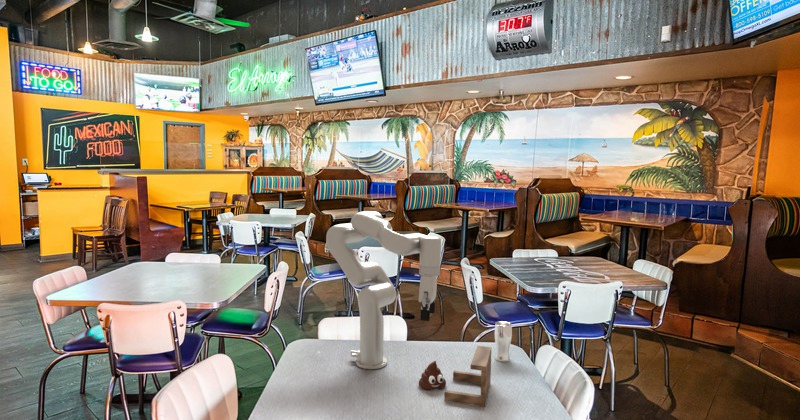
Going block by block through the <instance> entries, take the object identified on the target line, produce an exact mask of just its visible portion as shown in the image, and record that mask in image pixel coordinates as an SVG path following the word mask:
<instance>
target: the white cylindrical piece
mask: <svg viewBox="0 0 800 420" xmlns="http://www.w3.org/2000/svg"><path fill="white" fill-rule="evenodd" d="M512 336H513V327H512V323H511V322H508V321H503V320H501V321H495V325H494V343H495V356H494V359H495V360H496V361H498V362H503V363H507V362H509V361H511V359H510V358H511V357H510V348H511V343H512Z"/></svg>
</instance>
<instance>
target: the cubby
mask: <svg viewBox="0 0 800 420" xmlns="http://www.w3.org/2000/svg"><path fill="white" fill-rule="evenodd" d="M470 370H475V371H480V373H475V372H467V371H460V370H453V372H452V375H453V376H452V380H453V381H458V382H466V383H470V384H479V385H480V394H474V393H467V392H462V391H454V390H449V389H448V390H447V389H445V390H444V394H443V395H444V396H443V398H444V401H446V402H450V403H456V404H462V405H463V404H464V405H470V406H477V407H482V408H486V406H487V405H486V404H487V399H488V397H489V396H488V395H489V393H490V392H489V391H490V387H491V379H492V378H491V375H492V347H490V346H482V345H477V346H476V349H475V351H474V354H473V356H472V360H471V363H470Z"/></svg>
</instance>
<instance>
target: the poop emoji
mask: <svg viewBox="0 0 800 420" xmlns="http://www.w3.org/2000/svg"><path fill="white" fill-rule="evenodd" d="M423 371H424V372H422V373H421V378H419V381H418V386H419V388H420V389H421V390H424V391H430V392H431V391H435V390H442V389H444V388H445V387H446V385H447V380H446V379H445V378H444V375H443V373H442V371H441V368H440V367H438V365H437V360H433V361H432V362H431V363H429V364H428V365H427V366H426V368H425V369H424V370H423Z"/></svg>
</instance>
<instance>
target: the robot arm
mask: <svg viewBox="0 0 800 420" xmlns="http://www.w3.org/2000/svg"><path fill="white" fill-rule="evenodd" d="M367 238H371V239H373V240H375V241H378V243H379V244H380V245H381V246H382V248H383V249H385V250H387V251H388V252H390V253H393V254H396V255H398V256H404V257H405V256H406V257H407V256H412V255H415V254H419V265H418V267H419V268H418V274H419V275H420V279H419V280H420V281H419V290H418V291H419V292H418V302H419V303H421V306H420V319H419V320H420V321H425V322H430V317H431V316H430V315H431V314H435V311H436V298H437V288H438V287H437V286H438V285H437V284H438V277H439V276H440V275H441V258H442V257H441V252H442V240H441V238H440V237H439V236H436V235H435V236H434V235H426V234H423V233H419V232H415V233H406V234H400V233H397V232H396V231H393V230H392V225H391V223H390V221H388V220H385V219H384V217H383V216H382V214H381V213H380V212H378V211H375V210H374V211H373V210H371V211H370V210H367V211H359V212H356V213H355V214H354V215H352V217H351V220H350V222H348V223H339V224H335V225H333V226H331V227H330V228H329V229H328V230H327V232H326V238H325V241H326V246H327V249H328V251H329V253H330V254H331V256H332V257H333V258H334V259H335V261H336V262H337V263H338V266H340V269H341V270H342V272H343V273H344V274H345V278H347V280H348V281H349V282H350V284H351V285H352V286H353V287H356V288H361V287H363V288H362V289H361V290H359V292H358V295H357V305H358V309H359V350H355V349H351V350H350V355H351V357H352V358H356V360H355V365H356V366H357V367H359V368H360V369H365V370H377V369H381V368H384V367H386V365H387V364H388V359H387V358H386V356H384V339H385V338H384V331H385V330H384V328H385V327H384V325H385V323H384V322H385V321H384V315H383V313H382V311H381V308H383V307H386V306H388V305H391V304H392V303H394V302H395V300H396V298H397V290H396V287H395V285H394V284H393V282H392V281H391V279H390V278H389V276H388V274H387V273H386V271H385V270H384V268H383V267H382V266H381V265H380V264H379V263H378V262H376V261H372V260H371V261H362V260H361V258H360V257H359V255H358V253H357V252H356V251H355V250H354V249H353V248H352V247H351V246H349V245H348V244H354V243H355V244H356V243H359V242H362V241H365V240H366V239H367Z"/></svg>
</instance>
